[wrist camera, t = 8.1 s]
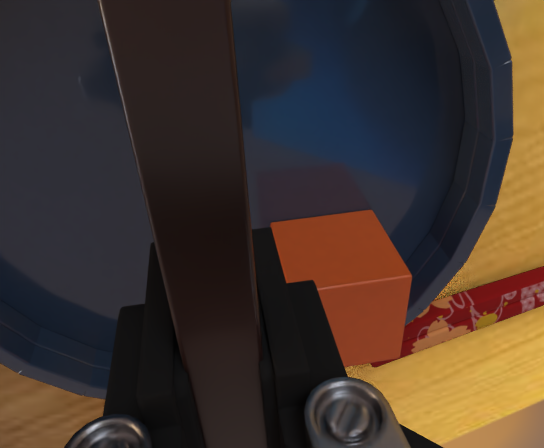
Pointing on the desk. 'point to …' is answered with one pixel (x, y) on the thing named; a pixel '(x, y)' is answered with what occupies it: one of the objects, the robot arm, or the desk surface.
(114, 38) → the dark brown long bar
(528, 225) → the desk surface
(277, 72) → the dark blue round tray
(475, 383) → the desk surface
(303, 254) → the block
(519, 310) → the chopstick
